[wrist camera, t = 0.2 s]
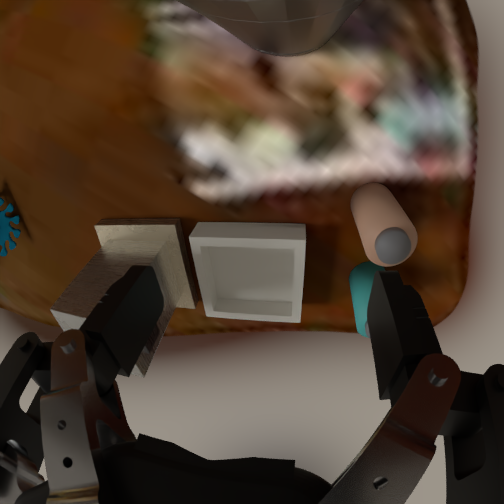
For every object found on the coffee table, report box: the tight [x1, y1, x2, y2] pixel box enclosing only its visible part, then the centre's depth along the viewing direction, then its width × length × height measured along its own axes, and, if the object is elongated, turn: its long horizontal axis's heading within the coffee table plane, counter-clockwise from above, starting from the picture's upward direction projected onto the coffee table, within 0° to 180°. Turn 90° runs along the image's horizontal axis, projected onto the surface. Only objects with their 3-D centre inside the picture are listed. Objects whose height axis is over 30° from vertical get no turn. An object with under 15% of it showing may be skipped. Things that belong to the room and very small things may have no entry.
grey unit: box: [50, 218, 199, 377], centre depth 28 cm, size 12×11×14 cm
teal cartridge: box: [349, 262, 385, 338], centre depth 27 cm, size 4×4×8 cm
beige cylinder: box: [351, 183, 417, 266], centre depth 22 cm, size 4×4×8 cm
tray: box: [189, 222, 306, 323], centre depth 30 cm, size 11×11×3 cm
